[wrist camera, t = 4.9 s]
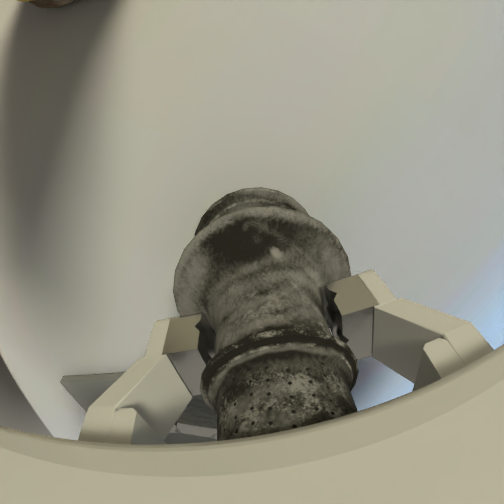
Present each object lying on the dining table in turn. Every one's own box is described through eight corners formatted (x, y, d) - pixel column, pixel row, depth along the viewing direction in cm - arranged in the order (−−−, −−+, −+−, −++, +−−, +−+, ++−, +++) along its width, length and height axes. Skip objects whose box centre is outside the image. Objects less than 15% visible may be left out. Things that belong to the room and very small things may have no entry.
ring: (235, 387, 16) (237, 415, 14) (268, 452, 20) (271, 472, 18) (97, 400, 16) (90, 423, 14) (159, 461, 21) (157, 479, 19)
